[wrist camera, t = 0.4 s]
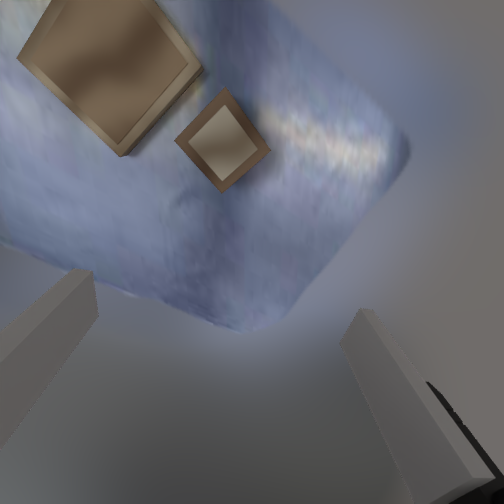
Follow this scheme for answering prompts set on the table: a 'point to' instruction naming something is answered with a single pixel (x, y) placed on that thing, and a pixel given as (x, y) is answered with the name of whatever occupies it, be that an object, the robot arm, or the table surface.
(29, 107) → the table surface
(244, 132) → the walnut block
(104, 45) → the maple pad
